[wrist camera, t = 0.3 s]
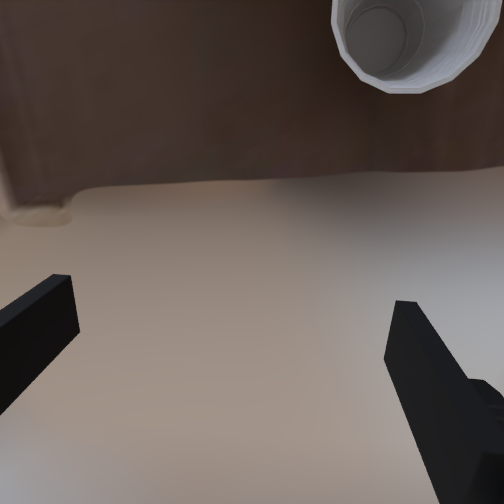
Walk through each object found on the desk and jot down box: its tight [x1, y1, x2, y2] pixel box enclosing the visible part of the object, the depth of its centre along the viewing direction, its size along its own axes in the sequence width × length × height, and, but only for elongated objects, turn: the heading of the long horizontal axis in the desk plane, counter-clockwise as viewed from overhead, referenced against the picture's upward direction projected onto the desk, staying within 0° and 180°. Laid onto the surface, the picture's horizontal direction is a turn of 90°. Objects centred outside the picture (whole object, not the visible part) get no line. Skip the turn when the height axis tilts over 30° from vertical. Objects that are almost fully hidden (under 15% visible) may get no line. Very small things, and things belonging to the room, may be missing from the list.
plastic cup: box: [331, 0, 502, 93], centre depth 28 cm, size 11×11×12 cm
